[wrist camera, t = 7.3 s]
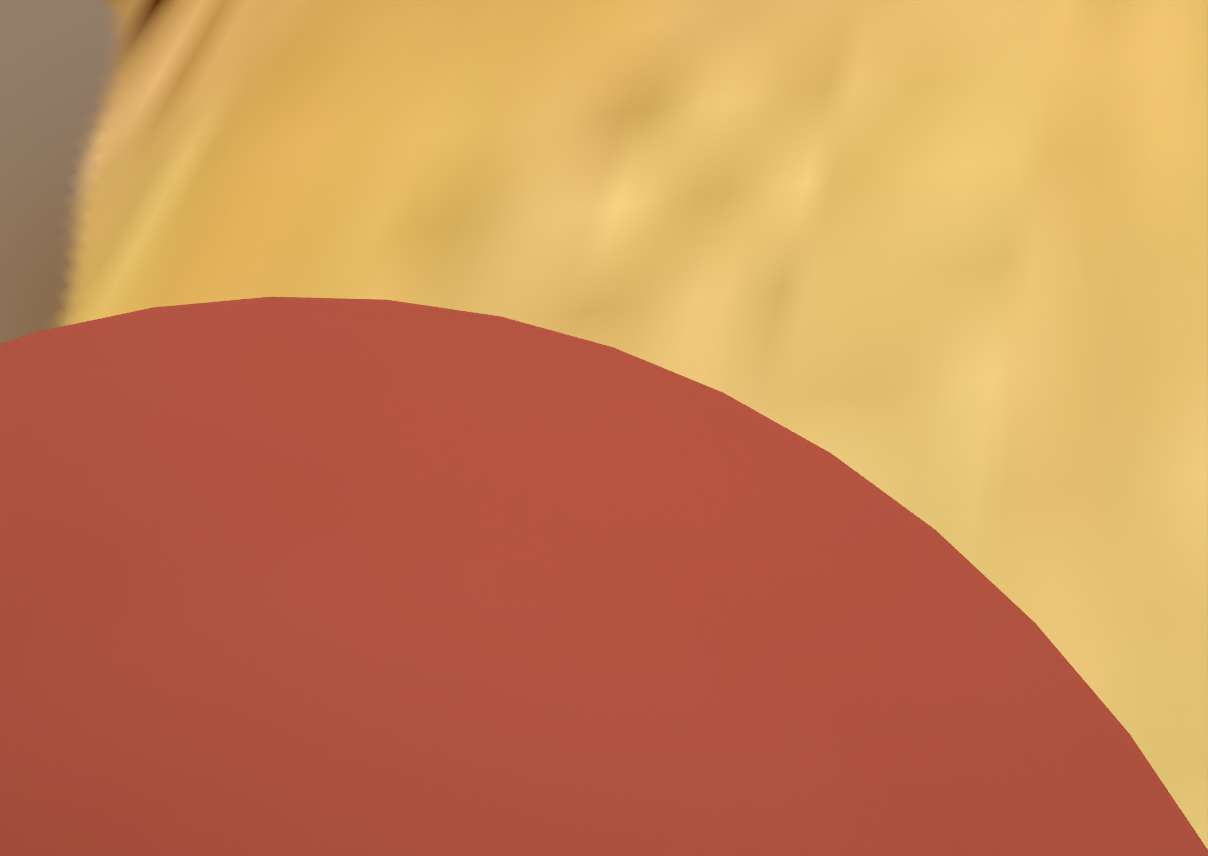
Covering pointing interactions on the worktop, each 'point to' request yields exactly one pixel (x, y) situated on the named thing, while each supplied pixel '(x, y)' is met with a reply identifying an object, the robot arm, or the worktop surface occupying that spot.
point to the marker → (496, 613)
